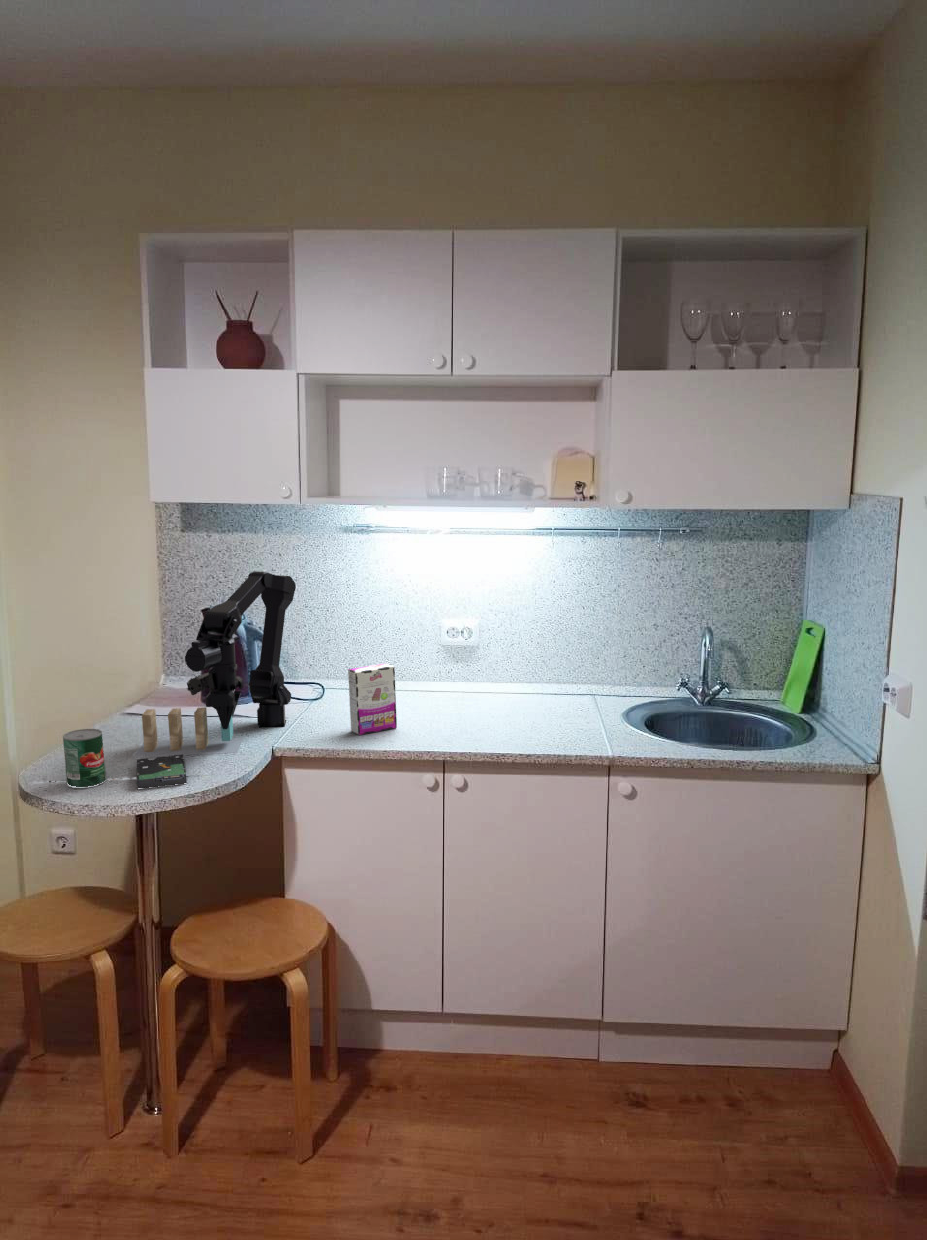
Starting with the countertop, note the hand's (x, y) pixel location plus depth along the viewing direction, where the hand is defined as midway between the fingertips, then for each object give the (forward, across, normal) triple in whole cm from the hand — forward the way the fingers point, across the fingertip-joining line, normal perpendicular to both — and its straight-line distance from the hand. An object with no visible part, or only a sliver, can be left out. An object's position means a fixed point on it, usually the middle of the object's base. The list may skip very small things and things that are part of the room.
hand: (226, 725), depth 224 cm
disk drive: (+6, +19, -12) cm, 23 cm away
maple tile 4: (+5, 0, -18) cm, 19 cm away
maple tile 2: (+5, 0, -6) cm, 8 cm away
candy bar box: (+6, -10, +35) cm, 37 cm away
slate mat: (+5, 0, -9) cm, 10 cm away
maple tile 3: (+5, 0, -12) cm, 13 cm away
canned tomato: (+6, +21, -27) cm, 35 cm away
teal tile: (+3, 0, 0) cm, 3 cm away
